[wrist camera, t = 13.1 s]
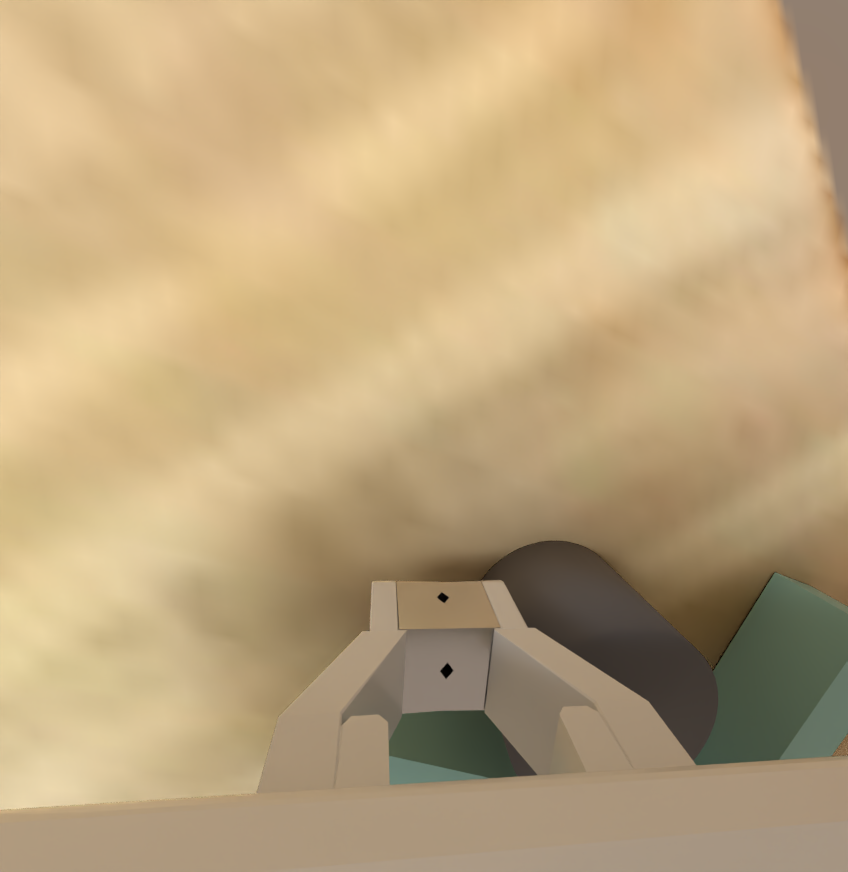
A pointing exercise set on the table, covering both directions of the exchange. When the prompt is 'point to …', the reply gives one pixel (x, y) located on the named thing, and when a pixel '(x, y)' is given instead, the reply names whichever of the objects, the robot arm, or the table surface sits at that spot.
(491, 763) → the rail
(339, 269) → the table surface
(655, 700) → the grey rounded lump
